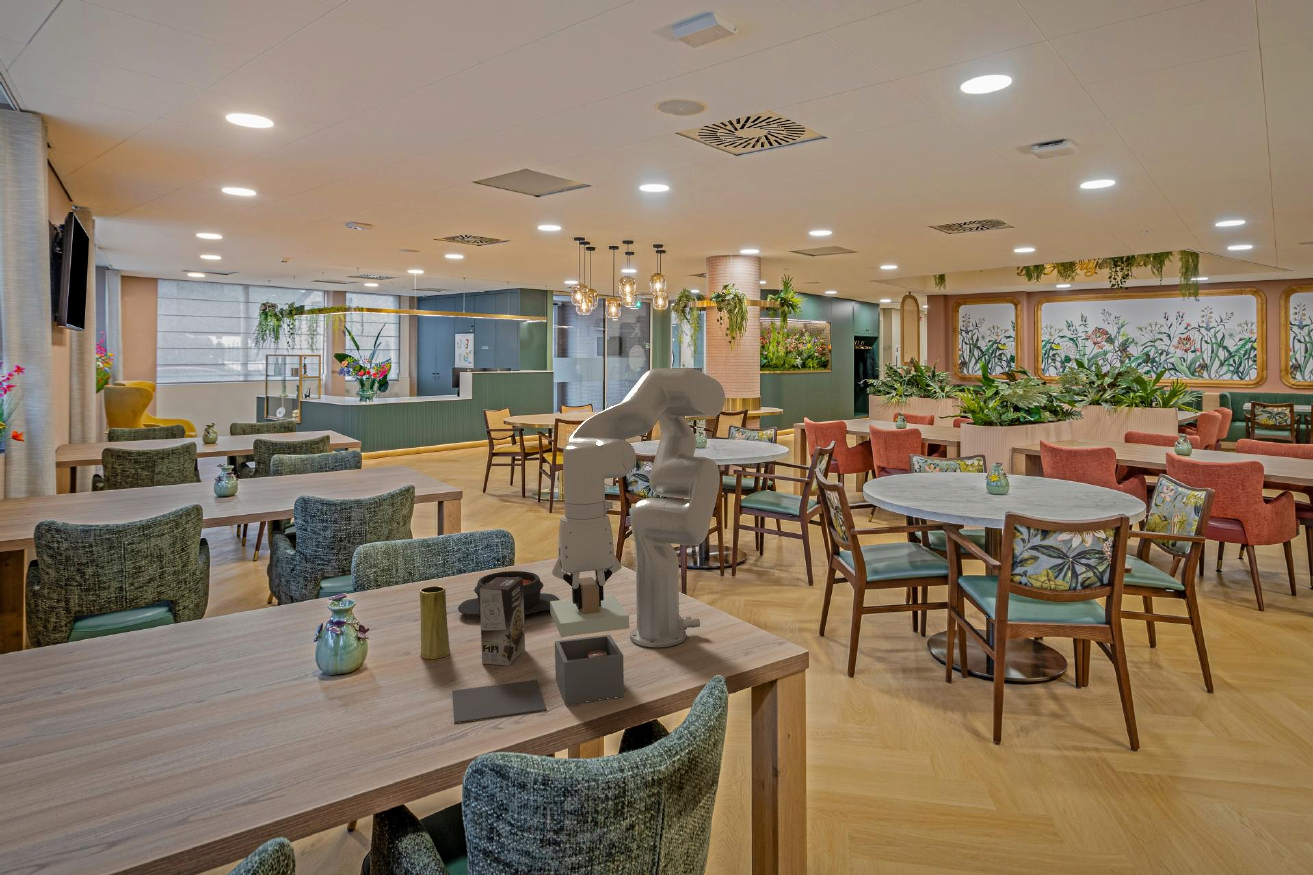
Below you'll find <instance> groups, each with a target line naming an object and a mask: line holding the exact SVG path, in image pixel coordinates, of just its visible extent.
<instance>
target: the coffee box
mask: <svg viewBox="0 0 1313 875" xmlns="http://www.w3.org/2000/svg"><path fill="white" fill-rule="evenodd" d="M480 615H481V616H480V640H481V641H480V642H481V644H480V645H481V647H480V648H481V664H487V665H500V666H511V665H512V664H513V663H514V661H515V660H516V659H517V658H518V657H520V655H521V654H522V653H523V652H524V651H525V650H526V638H525V635H526V634H525V616H524V598H523V578H517V577H505V578H504V577H496V578H494V579H493V580H492V581H490V582H489V583H487V584H486V585H484V586H483V587H481V588H480Z"/></svg>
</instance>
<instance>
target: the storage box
mask: <svg viewBox="0 0 1313 875" xmlns="http://www.w3.org/2000/svg"><path fill="white" fill-rule="evenodd" d="M554 662H555V665H554V669H555V683H556V682H557V683H556V685H557V688H558V690H559V692H560V696H561V695H562V696H561V698H562V701H563V700H564V701H563V703H564V706H568V705H567V704H570V705H576V704H582V703H583V702H584V703H587V702H586V701H591V702H596V701H595V700H598V701H600V700H599V699H605V700H608V699H607V698H612V699H616V698H615V697H619V698H624V697H625V680H624V678H625V677H624V670H625V669H624V668H625V667H624V654H623V652H622V651H621V649H620V648H619V646H618V645H617V644H616V642H615V640H614V639H613V637H612V636H611V634H604V635H595V636H587V637H580V638H569V639H561V640H555V641H554ZM584 703H583V704H584Z"/></svg>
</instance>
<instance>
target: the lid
mask: <svg viewBox="0 0 1313 875" xmlns="http://www.w3.org/2000/svg"><path fill="white" fill-rule="evenodd" d="M595 580H596V579H594V578H593V576H590V577H579V584H580V588H581V597H582V608H581V609H578V608H577V606H576V604H573V600H572V598H568V599H560V600H558V601H550V609H549V610H550V616H551V618H552V620H553V622H554V624H555V627H556V629H557V631H558V633H559V636H560V637H561V638H565V637H572V636H579V635H580V636H581V635H589V634H594V633H595V634H597V633H605V632H611V631H619V630H621V631H622V630H627V629H630V615H629V613H628V612H627V611H626V609H625V608H624V607H623V605H622V604H621V603H620V601H619V599H618V598H617V597H616V596H615V594H613V593H612V594H611V593H610V594H604V600H603V601H601V607H599V586H598V585H597V583H596V582H595Z"/></svg>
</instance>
